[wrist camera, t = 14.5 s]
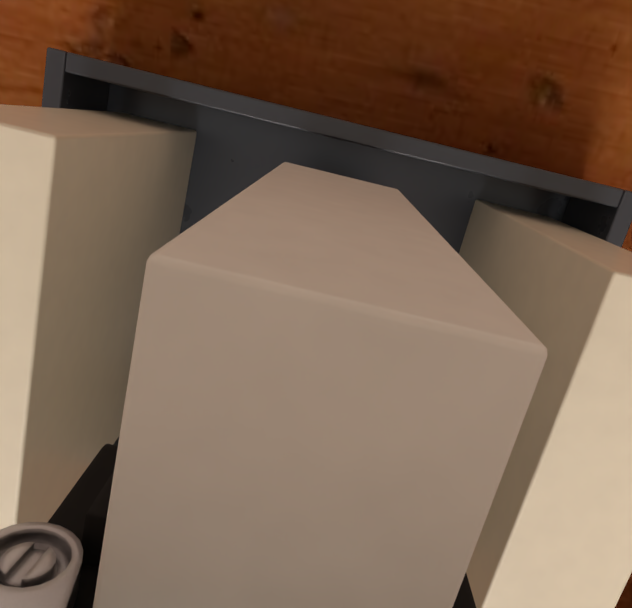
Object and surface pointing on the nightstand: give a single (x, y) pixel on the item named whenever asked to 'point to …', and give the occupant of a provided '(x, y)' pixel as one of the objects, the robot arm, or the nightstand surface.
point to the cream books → (122, 314)
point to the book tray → (327, 152)
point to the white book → (311, 407)
